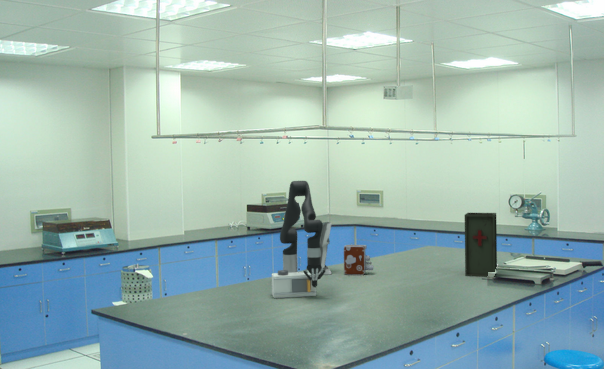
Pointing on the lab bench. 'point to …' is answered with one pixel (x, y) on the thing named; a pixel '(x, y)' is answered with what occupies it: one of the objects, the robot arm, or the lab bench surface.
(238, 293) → the lab bench surface
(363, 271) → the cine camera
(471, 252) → the first aid box
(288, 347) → the lab bench surface
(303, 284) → the side door
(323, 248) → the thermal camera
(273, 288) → the camera housing
